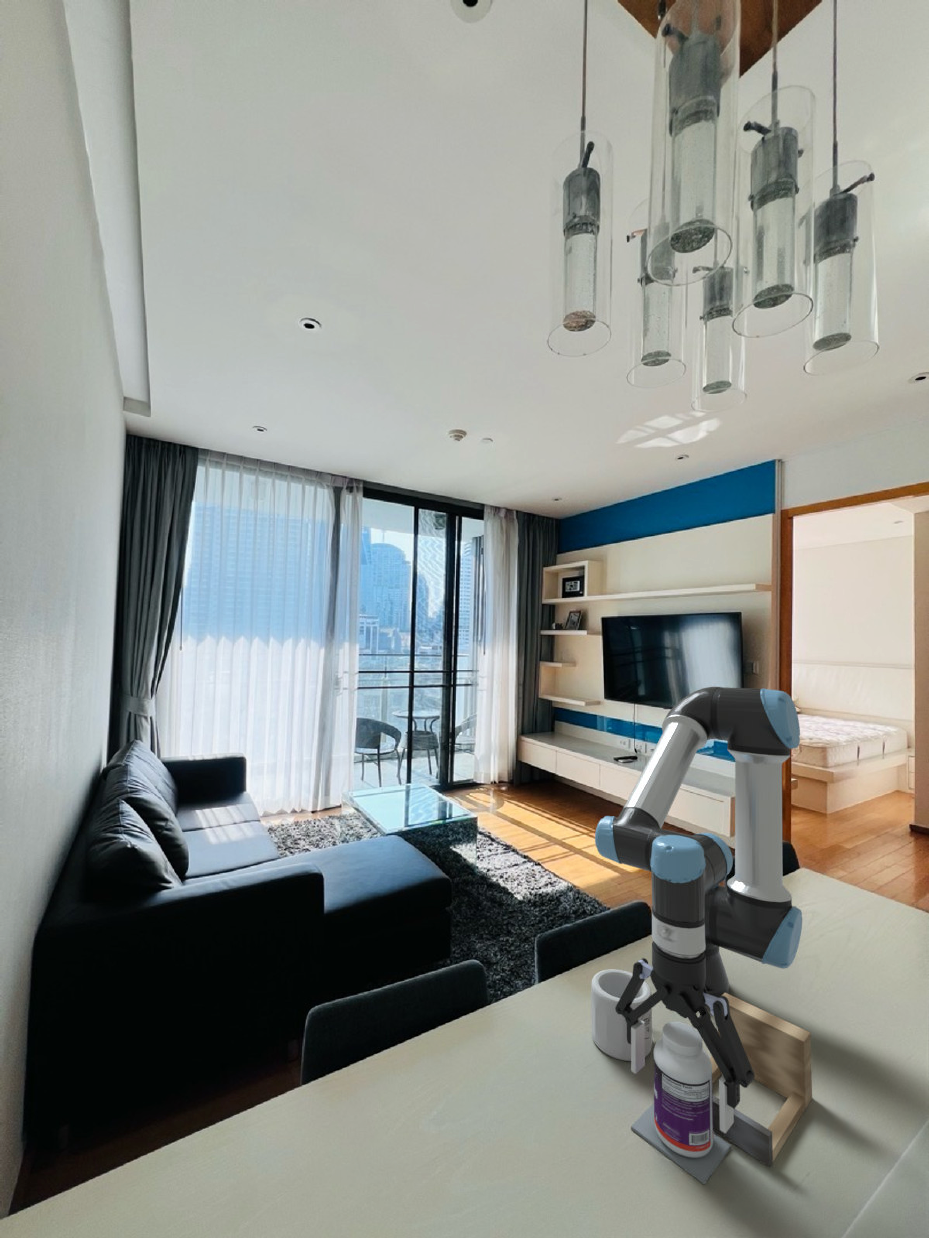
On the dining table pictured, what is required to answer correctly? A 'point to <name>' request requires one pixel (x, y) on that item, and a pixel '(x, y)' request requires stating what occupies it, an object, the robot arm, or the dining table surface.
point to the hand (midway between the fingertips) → (679, 1095)
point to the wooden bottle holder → (769, 1077)
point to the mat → (694, 1166)
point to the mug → (605, 1019)
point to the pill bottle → (683, 1091)
